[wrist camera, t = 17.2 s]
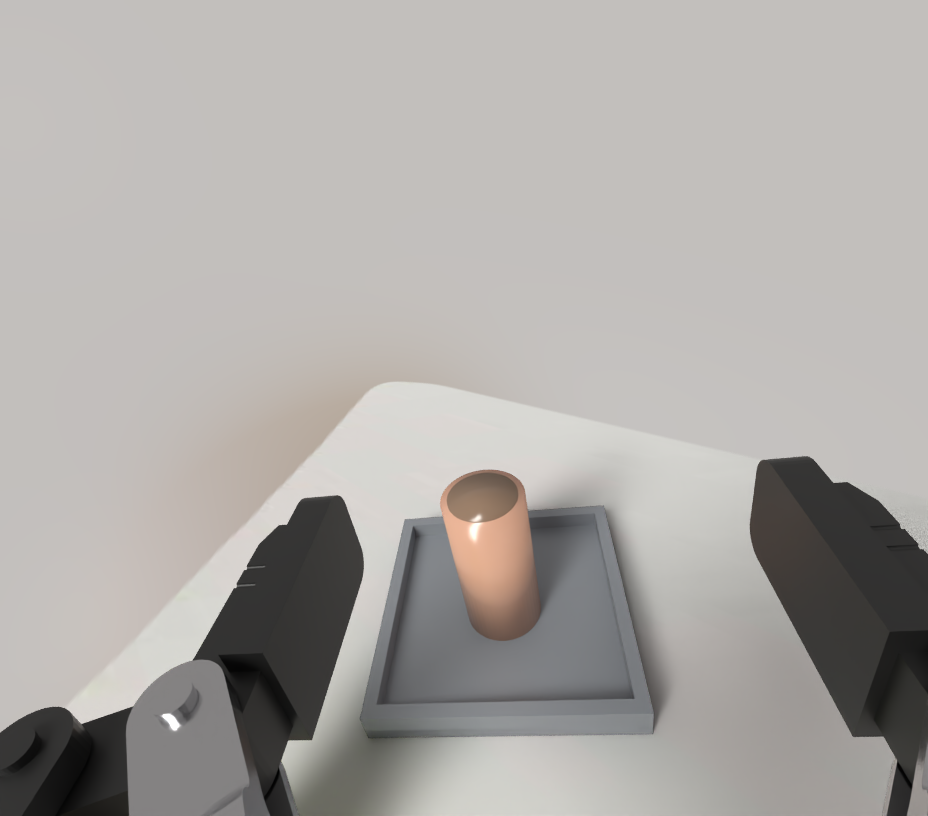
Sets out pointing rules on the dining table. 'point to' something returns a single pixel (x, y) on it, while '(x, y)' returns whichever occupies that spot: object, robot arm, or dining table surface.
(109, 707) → the dining table surface
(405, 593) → the tray
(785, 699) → the dining table surface
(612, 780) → the dining table surface
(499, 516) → the cup
